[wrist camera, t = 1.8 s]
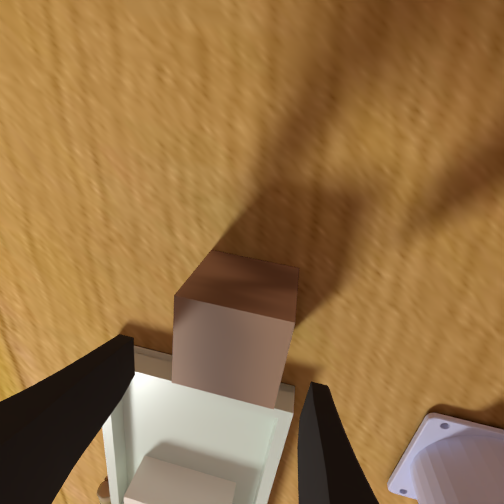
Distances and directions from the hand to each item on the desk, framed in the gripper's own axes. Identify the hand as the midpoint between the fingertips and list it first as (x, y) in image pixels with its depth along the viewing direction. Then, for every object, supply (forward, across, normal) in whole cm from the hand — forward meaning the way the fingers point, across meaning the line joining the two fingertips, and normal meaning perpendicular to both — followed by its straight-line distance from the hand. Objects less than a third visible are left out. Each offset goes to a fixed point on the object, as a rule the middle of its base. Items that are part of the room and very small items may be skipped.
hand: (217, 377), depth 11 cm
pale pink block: (+6, +2, +20) cm, 21 cm away
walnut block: (+6, 0, 0) cm, 6 cm away
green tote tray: (+6, +2, +15) cm, 16 cm away
